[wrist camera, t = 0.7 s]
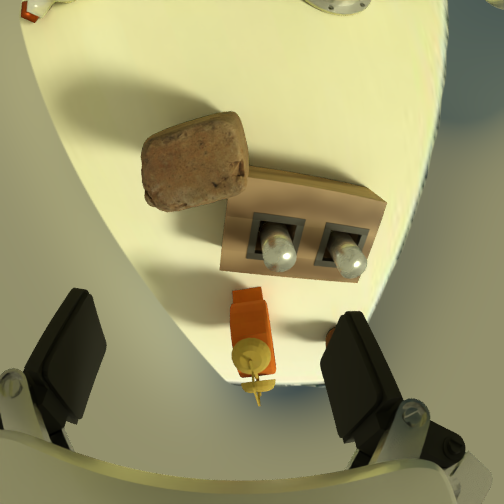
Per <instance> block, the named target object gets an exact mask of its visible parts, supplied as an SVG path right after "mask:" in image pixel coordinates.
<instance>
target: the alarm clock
mask: <svg viewBox="0 0 504 504" xmlns="http://www.w3.org/2000/svg"><path fill="white" fill-rule="evenodd" d="M232 293H233V304H231V307H230V330H231V340H232V347H233V350H232V360H233V363H234V365H235V367H236V368H237V370H238V373H239V375H240V377H242V378H245V377H252V382H247V383H241V386H242V388H243V390H245V392H248V393H254V394H255V397H256V400H257V404H258V406H260V396H261V392H263V391H269V390H271V389H273V387H274V386H275V379H273V380H263V381H259V376H262V375H269V374H274V373H275V372H276V363H275V356H274V348H273V341H272V334H271V327H270V321H269V314H268V308H267V303H266V301H265V300H263V295H262V289H261V287H256V288H249V289H242V290H235V291H232ZM254 377H255V378H256V381H254ZM256 392H258V397H257V394H256Z"/></svg>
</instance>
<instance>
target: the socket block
mask: <svg viewBox="0 0 504 504" xmlns="http://www.w3.org/2000/svg"><path fill="white" fill-rule="evenodd" d="M247 179H248V183H247V186H246V190H245V191H243V192H242V193H240V194H238V195H237V196H233V197H230V198H228V200H227V208H226V216H225V224H224V232H223V241H222V250H221V260H220V270H221V271H230V272H240V273H250V274H260V275H270V276H281V277H292V278H303V279H314V280H326V281H338V282H351V283H358V280H359V278H360V276H358V277H356V278H352V279H348V278H345V277H343V276H342V275H341V274H340V272H339V270H338V268H337V266H336V264H335V262H334V260H333V259H332V257H331V255H330V253H329V251H328V249H327V248H326V246H327V242H328V239H329V236H330V233H331V230H334V231H341V232H347V233H348V234H349V235H350V237H351V238H352V239H353V241H354V242H355V243H356V245H357V246H358V247H359V249H360V250H361V251H362V253H363V254H364V256H365V257H366V259H367V258H368V255H369V253H370V250H371V248H372V245H373V242H374V240H375V237H376V234H377V231H378V228H379V226H380V223H381V220H382V217H383V214H384V211H385V208H386V205H387V202H385V201H384V200H383V199H382V198H380V197H379V196H378V195H376V194H375V193H374V192H372V191H371V190H370V189H369V188H367V187H362V186H358V185H354V184H349V183H345V182H340V181H335V180H331V179H326V178H321V177H316V176H310V175H305V174H299V173H294V172H288V171H282V170H275V169H269V168H262V167H255V166H249V174H248V177H247ZM260 220H261V221H269V222H277V223H284V224H285V225H286V227H287V230H288V232H289V235H290V238H291V241H292V243H293V246H294V249H295V252H296V256H297V258H296V262H295V264H294V265H293V266H292V267H291V268H290V269H289V270H287V271H284V272H274V271H271V270H269V269H268V268H267V267H266V266H265V264H264V259H263V253H262V247H261V240H260V232H258V230H259V224H260Z"/></svg>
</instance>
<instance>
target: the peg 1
mask: <svg viewBox="0 0 504 504" xmlns="http://www.w3.org/2000/svg"><path fill="white" fill-rule="evenodd" d="M260 240H261V247H262V253H263V259H264V264H265V266H266V267H267V268H268V269H269V270H271V271H274V272H284V271H287V270H289V269H290V268H291V267H292V266H293V265H294V264H295V262H296V258H297V256H296V252H295V249H294V246H293V243H292V241H291V238H290V235H289V232H288V230H287V227H286V225H285V224H284V223H277V222H269V221H267V222H265V223H264V224H263V225H262V226H261V228H260Z"/></svg>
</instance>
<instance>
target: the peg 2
mask: <svg viewBox="0 0 504 504" xmlns="http://www.w3.org/2000/svg"><path fill="white" fill-rule="evenodd" d="M326 248H327V249H328V251H329V253H330V255H331V257H332V259H333V260H334V262H335V264H336V266H337V268H338V270H339V272H340V274H341V275H342V276H343V277H345V278H348V279H352V278H356V277H358V276H360V275H361V274H362V273H363V272H364V271H365V269H366V267H367V259H366V257H365V256H364V254H363V253H362V251H361V250H360V249H359V247H358V246H357V245H356V243H355V242H354V241H353V239H352V238H351V237H350V235H349V234H348V233H347V232H341V231H334V230H333V231H332V232H331V233H330V236H329V239H328V242H327V246H326Z"/></svg>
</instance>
